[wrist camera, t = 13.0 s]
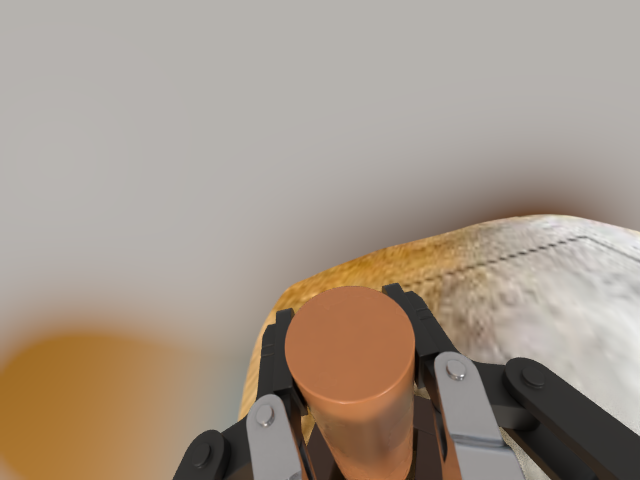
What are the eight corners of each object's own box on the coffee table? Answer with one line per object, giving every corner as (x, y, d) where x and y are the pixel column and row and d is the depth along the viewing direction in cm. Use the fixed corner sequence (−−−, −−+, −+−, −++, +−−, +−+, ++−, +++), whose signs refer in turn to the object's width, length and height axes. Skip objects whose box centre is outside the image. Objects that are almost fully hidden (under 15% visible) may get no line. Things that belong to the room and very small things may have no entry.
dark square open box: (341, 393, 25) (333, 369, 23) (446, 431, 21) (452, 406, 18) (300, 529, 18) (281, 517, 15) (448, 629, 14) (458, 636, 11)
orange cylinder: (345, 387, 16) (314, 279, 11) (415, 411, 14) (419, 294, 9) (321, 471, 13) (258, 374, 7) (407, 516, 11) (407, 431, 6)
